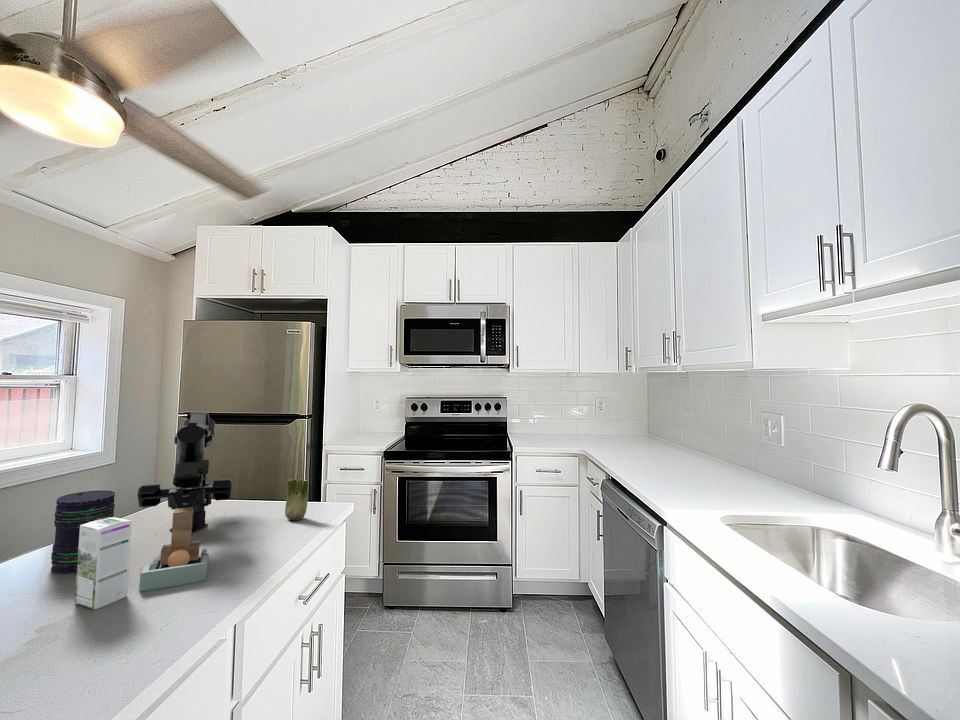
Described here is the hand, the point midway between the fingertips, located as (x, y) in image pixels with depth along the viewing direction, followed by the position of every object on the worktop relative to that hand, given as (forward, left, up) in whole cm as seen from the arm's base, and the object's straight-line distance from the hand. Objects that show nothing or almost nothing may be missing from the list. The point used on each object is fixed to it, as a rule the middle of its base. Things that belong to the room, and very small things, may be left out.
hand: (183, 524), depth 100 cm
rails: (+2, -2, -8) cm, 8 cm away
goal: (+7, -9, -8) cm, 13 cm away
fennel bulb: (+9, +32, -8) cm, 34 cm away
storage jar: (-18, -7, -8) cm, 21 cm away
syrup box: (+1, -19, -8) cm, 21 cm away
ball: (+4, -5, -8) cm, 10 cm away
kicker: (+1, -2, -8) cm, 8 cm away
